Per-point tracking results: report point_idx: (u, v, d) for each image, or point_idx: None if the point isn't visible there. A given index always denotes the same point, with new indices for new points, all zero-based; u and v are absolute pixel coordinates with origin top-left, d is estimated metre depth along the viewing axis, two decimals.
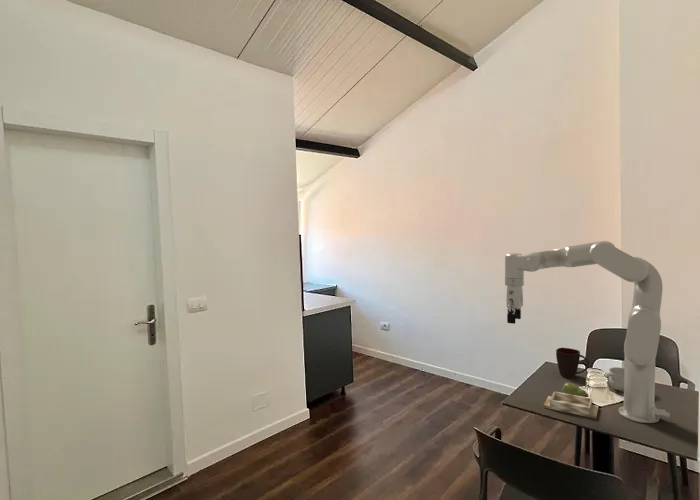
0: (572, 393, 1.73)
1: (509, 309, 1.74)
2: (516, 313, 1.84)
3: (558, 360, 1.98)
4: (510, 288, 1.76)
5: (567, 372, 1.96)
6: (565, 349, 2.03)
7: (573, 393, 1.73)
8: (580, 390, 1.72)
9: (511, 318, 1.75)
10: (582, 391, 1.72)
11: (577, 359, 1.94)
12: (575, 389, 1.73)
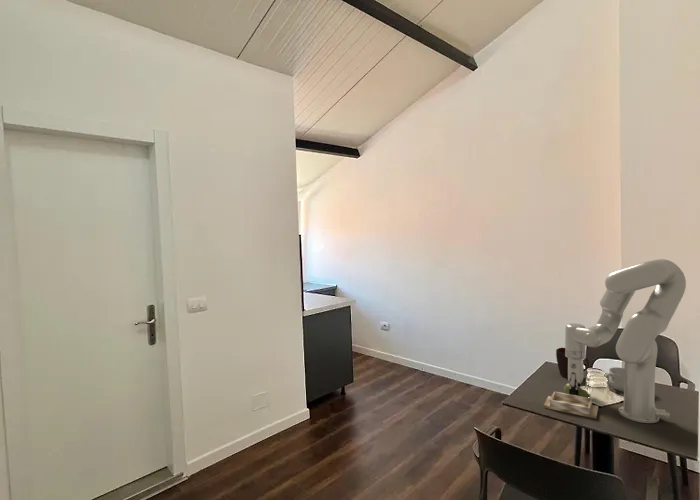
0: None
1: (572, 386, 1.69)
2: None
3: (558, 360, 1.98)
4: (572, 361, 1.71)
5: (567, 372, 1.96)
6: None
7: None
8: (582, 390, 1.72)
9: (574, 393, 1.71)
10: (584, 391, 1.71)
11: None
12: None
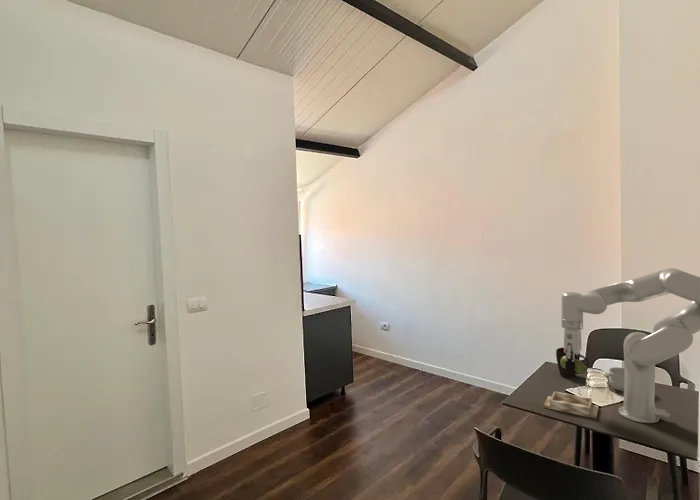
0: None
1: (568, 357, 1.60)
2: None
3: (558, 360, 1.98)
4: (568, 331, 1.61)
5: (567, 372, 1.96)
6: None
7: None
8: (579, 363, 1.62)
9: (570, 366, 1.61)
10: (581, 364, 1.61)
11: None
12: None
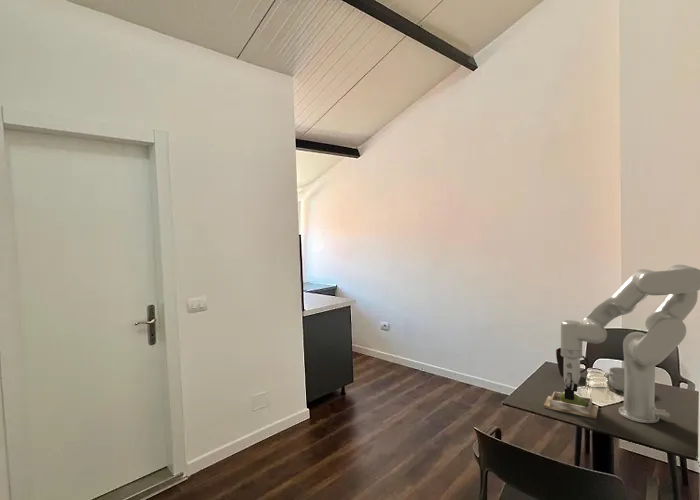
0: (571, 402, 1.62)
1: (568, 385, 1.57)
2: (572, 385, 1.68)
3: (558, 360, 1.98)
4: (568, 361, 1.60)
5: None
6: None
7: (572, 402, 1.62)
8: (580, 399, 1.61)
9: (569, 394, 1.59)
10: (582, 400, 1.61)
11: None
12: (574, 398, 1.62)
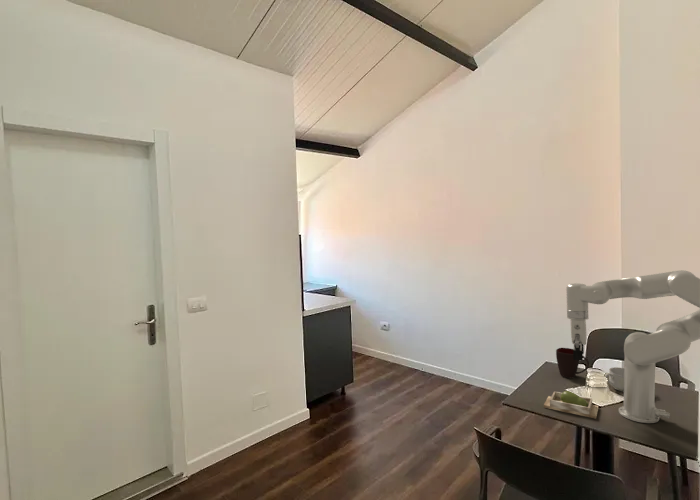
0: (572, 402, 1.62)
1: (577, 345, 1.60)
2: None
3: (558, 360, 1.98)
4: (575, 322, 1.63)
5: (567, 372, 1.96)
6: (565, 349, 2.03)
7: (573, 402, 1.62)
8: (580, 399, 1.61)
9: (578, 355, 1.62)
10: (582, 400, 1.60)
11: None
12: (575, 398, 1.61)
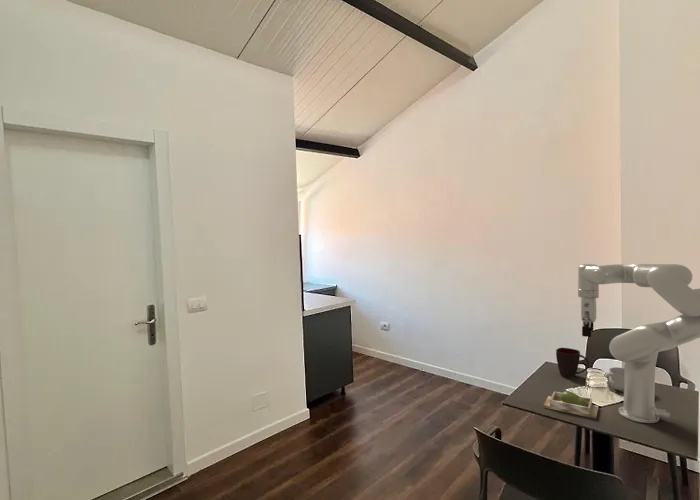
0: (572, 402, 1.62)
1: (585, 322, 1.68)
2: None
3: (558, 360, 1.98)
4: (585, 300, 1.71)
5: (567, 372, 1.96)
6: (565, 349, 2.03)
7: (573, 402, 1.61)
8: (580, 399, 1.61)
9: (587, 331, 1.70)
10: (583, 400, 1.60)
11: (577, 359, 1.94)
12: (575, 398, 1.61)
